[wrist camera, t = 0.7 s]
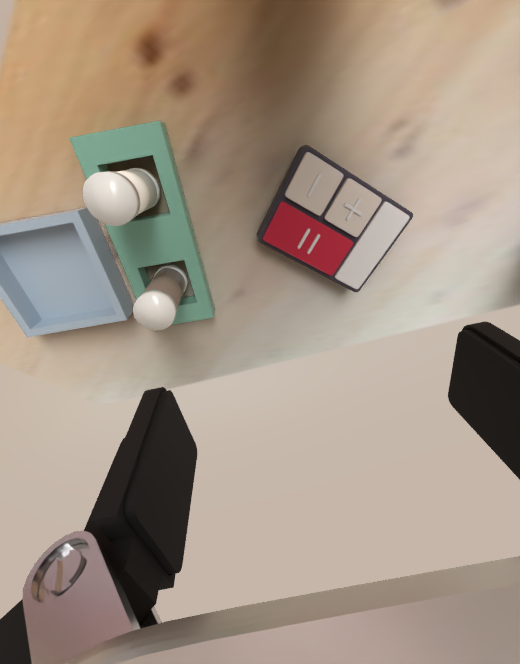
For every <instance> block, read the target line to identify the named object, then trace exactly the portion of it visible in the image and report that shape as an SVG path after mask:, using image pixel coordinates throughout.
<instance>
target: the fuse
mask: <svg viewBox="0 0 520 664" xmlns="http://www.w3.org/2000/svg"><path fill="white" fill-rule="evenodd" d="M160 197H161V187H160V184H159V182H158V180H157V178H156V177H155V176H154V175H153V174H152V173H151V172H150V171H148V170H146V169H143V168H131V169H128V170H124V171H117V172H113V171H106V172H98V173H95V174H93V175H91V176H90V177H89V178H88V179H87V180H86V182H85V184H84V187H83V199H84V202H85V205H86V207H87V209H88V210H89V212H90V213H91V214H92V215H93V216H94V217H95V218H96V219H97V220H99V221H100V222H102V223H104V224H107V225H110V226H120V225H123V224H126V223H127V222H129V221H131V220H132V219H133V218H135V216H137V215H138V214H140V213H142V212H143V211H145V210H148V209H150V208H152V207H154V206H155V205H156V204H157V203H158V202H159V200H160Z"/></svg>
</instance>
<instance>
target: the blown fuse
mask: <svg viewBox="0 0 520 664" xmlns="http://www.w3.org/2000/svg"><path fill="white" fill-rule="evenodd" d="M187 284H188V276H187V274H186V272H185V271H184V269H183V268H181V267H180V266H178V265H176V264H165V265H162V266H161V267H160V268H159V269H158V270H157V272H156V273H155V275H154V277H153V279H152V280H151V282H150V283H149V285H148V286H147V288H146V289H145V291H144V292H143V293H142V294H141V295H140V296H139V298H138V299H137V300H136V302H135V304H134V306H133V314H134V317H135V319H136V320H137V322H138V323H139V324H140V325H142V326H143V327H145V328H147V329H150V330H155V331H158V330H164V329H166V328H168V327H169V326H170V325H171V324H172V323H173V321H174V318H175V315H176V313H177V308H178V305H179V303H180V300H181V298H182V295H183V293H184V292H185V290H186V287H187Z"/></svg>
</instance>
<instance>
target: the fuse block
mask: <svg viewBox="0 0 520 664" xmlns="http://www.w3.org/2000/svg"><path fill="white" fill-rule="evenodd" d="M69 139H70V141H71V143H72V146H73V148H74V151H75V153H76V155H77V158H78V160H79V163H80V165H81V167H82V170H83V172H84V174H85V177H86V179H88V178H89V177H90V176H91V175H93V174H95V173H98V172H106V171H109V170H108V167H107V164H112V163H117V162H123V161H128V160H134V159H139V158H144V157H150V156H153V158H154V161H155V164H156V168H157V171H158V174H159V178H160V181H161V184H162V188H163V191H164V194H165V198H166V201H167V204H168V208H169V211H170V212H167V213H162V214H156V215H151V216H145V217H140V218H134V219H132V220H131V221H129V222H127V223H126V224H123V225H120V226H110V225H107V224H105V225H106V227H107V230H108V232H109V234H110V237H111V239H112V242H113V244H114V246H115V249H116V251H117V254H118V256H119V258H120V261H121V263H122V266H123V268H124V270H125V273H126V275H127V278H128V280H129V282H130V285H131V287H132V289H133V292H134V294H135V297H136V299H138V298H139V296H140V295H141V294H142V293H143V292H144V291H145V289H146V288H147V286H148V285H149V283H150V279H149V276H148V274H147V271H146V268H145V267H147V266H152V265H158V264H164V263H169V262H175V261H181V260H184V261H185V264H186V268H187V271H188V274H189V278H190V281H191V284H192V288H193V291H194V294H195V296H190V297H184V298H181V300H180V303H179V305H178V308H177V313H176V315H175V318H174V321H173V323H172V324H171V325H174V324H180V323H186V322H192V321H197V320H203V319H209V318H214V312H215V308H214V305H213V301H212V297H211V293H210V290H209V286H208V282H207V278H206V275H205V271H204V267H203V263H202V260H201V256H200V252H199V249H198V245H197V241H196V237H195V234H194V230H193V226H192V222H191V219H190V215H189V211H188V207H187V204H186V200H185V196H184V192H183V189H182V185H181V181H180V178H179V174H178V170H177V166H176V163H175V159H174V155H173V151H172V148H171V144H170V140H169V136H168V133H167V129H166V125H165V123H163V122H161V121H156V122H150V123H145V124H140V125H134V126H129V127H124V128H118V129H113V130H108V131H103V132H97V133H92V134H87V135H81V136H76V137H71V138H69Z"/></svg>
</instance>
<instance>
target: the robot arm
mask: <svg viewBox="0 0 520 664" xmlns="http://www.w3.org/2000/svg"><path fill="white" fill-rule="evenodd" d="M448 397H449V401H450V403H451V405H452V406H453V407H454V408H455V410H456V411H457V412H458V413H459V414H460V415H461V416H462V417H463V418H464V419H465V420H466V421H467V423H468V424H469V425H470V426H471V427H472V428H473V429H474V430H475V431H476V432H477V434H479V436H480V437H481V438H482V439H483V440H484V441H485V442H486V443H487V444H488V446H489V447H491V449H492V450H493V451H494V452H495V453H496V454H497V455H498V456H499V457H500V459H501V460H502V461H503V462H504V463H505V464H506V465H507V466H508V467H509V468H510V469H511V470H512V472H513V473H514V474H515V475H516V476H517V477H518V478H519V479H520V341H519V340H518V339H516V338H514V337H513V336H511V335H509V334H508V333H506V332H504V331H503V330H501V329H499V328H498V327H496V326H494V325H493V324H491V323H489V322H481V323H476V324H471V325H467V326H465V327H464V328H463V329H462V331H461V332H459V334H458V338H457V344H456V350H455V356H454V362H453V368H452V374H451V380H450V386H449V392H448ZM196 460H197V448H196V444H195V442H194V439H193V437H192V435H191V433H190V431H189V429H188V426H187V424H186V422H185V420H184V417H183V415H182V413H181V411H180V409H179V406H178V404H177V402H176V400H175V397H174V395H173V393H172V392H171V391H170V390H169V391H166V389H165V388H164V387H161V388H156V389H151V390H147V391H145V392H144V394H143V396H142V399H141V401H140V403H139V406H138V408H137V411H136V413H135V415H134V418H133V420H132V423H131V425H130V427H129V431H128V432H127V435H126V437H125V438H124V439H123V440H122V442H121V444H120V447H119V449H118V451H117V453H116V456H115V458H114V460H113V463H112V465H111V468H110V470H109V472H108V475H107V477H106V479H105V482H104V484H103V487H102V489H101V491H100V494H99V496H98V498H97V501H96V503H95V506H94V508H93V510H92V513H91V515H90V517H89V520H88V522H87V525H86V527H85V529H84V531H77V532H73V533H71V534H68V535H66V536H64V537H62V538H61V539H59V540H58V541H56V542H55V543H54V544H53V545H51V546H50V547H49V548H48V549H47V550H46V551H45V552H44V553H43V554H42V556H41V557H40V558H39V559H38V561H37V562H36V563H35V564H34V566H33V568H32V570H31V571H30V573H29V575H28V577H27V579H26V582H25V585H24V588H23V599H22V600H21V601H20V602H19V603H18V604H17V605H16V606H14V607H13V608H12V609H11V610H10V611H9V612H8V613H7V614H6V615H5V616H4V617H3V618H1V619H0V664H520V557H513V558H507V559H502V560H496V561H490V562H485V563H479V564H473V565H467V566H462V567H456V568H451V569H445V570H439V571H433V572H428V573H423V574H417V575H411V576H405V577H400V578H395V579H389V580H383V581H377V582H372V583H366V584H361V585H355V586H349V587H344V588H338V589H333V590H328V591H323V592H317V593H311V594H306V595H301V596H295V597H289V598H284V599H278V600H274V601H268V602H262V603H257V604H251V605H246V606H241V607H235V608H231V609H225V610H221V611H216V612H211V613H206V614H201V615H197V616H192V617H187V618H182V619H177V620H172V621H167V622H164V623H162V622H161V620H160V618H159V616H158V614H157V611H156V610H155V607H154V605H155V604H156V600H157V595H158V590H162V589H167V588H173V587H174V580H175V573H179V572H180V571H181V568H182V563H183V555H184V548H185V541H186V534H187V526H188V519H189V511H190V504H191V496H192V489H193V482H194V475H195V474H194V473H195V467H196Z"/></svg>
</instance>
